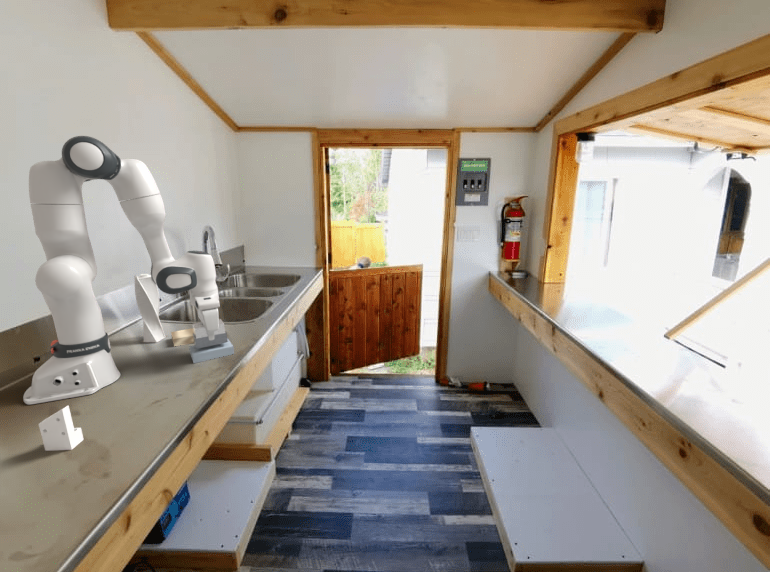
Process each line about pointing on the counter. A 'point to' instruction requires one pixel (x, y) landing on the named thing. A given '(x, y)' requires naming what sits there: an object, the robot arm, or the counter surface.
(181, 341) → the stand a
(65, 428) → the white angled block
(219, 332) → the block
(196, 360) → the stand
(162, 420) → the counter surface
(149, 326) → the skyscraper
